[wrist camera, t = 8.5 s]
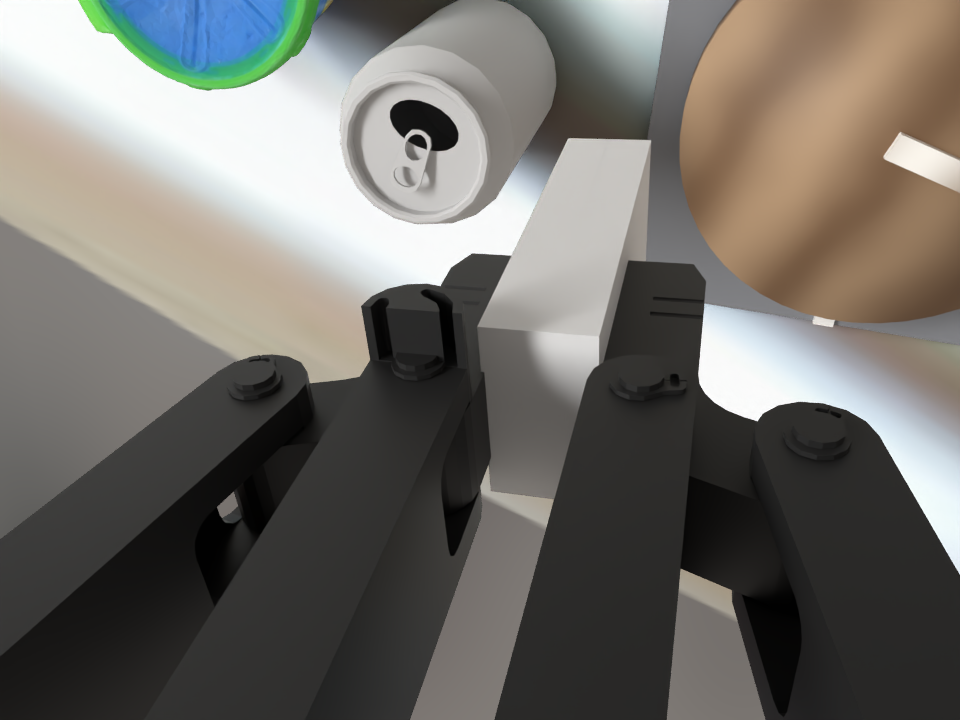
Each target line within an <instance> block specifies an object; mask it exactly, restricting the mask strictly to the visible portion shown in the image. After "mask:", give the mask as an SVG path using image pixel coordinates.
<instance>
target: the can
mask: <svg viewBox="0 0 960 720" xmlns="http://www.w3.org/2000/svg"><path fill="white" fill-rule="evenodd" d="M556 85H557V83H556V71H555V60H554V57H553V55H552V52H551V50H550V47H549V45H548V42H547V40H546V37H545V36H544V34H543V33H542V32H541V31H540V29H539V28H538V27H537V26H536V25H535V23H534V22H533V21H532V20H531V19H530V17H529V16H527V15H526V14H524V13H523V12H521V11H519V10H518V9H516V8H515V7H513V6H512V5H510V4H509V3H506V2H502V1H498V0H458V1H456V2H454V3H452V4H450V5H448V6H446V7H444V8H442V9H440V10H438V11H437V12H436V13H434V14H433V15H431V16H430V17H429V18H427V19H426V20H424V21H423V22H422V23H420V24H419V25H417V26H416V27H415V28H413V29H412V30H410V31H409V32H408V33H406V34H405V35H403V36H402V37H401V38H399V39H398V40H396V41H395V42H394V43H392V44H391V45H390V46H388V47H387V48H385V49H384V50H383V51H381V52H380V53H378V54H377V55H376V56H374V57H373V58H371V59H370V60H369V61H368V62H367V63H366V64H365V65H364V67H363V68H362V69H361V70H360V71H359V72H358V73H357V74H356V75H355V76H354V77H353V78H352V80H351V82H350V85H349V87H348V89H347V92H346V94H345V97H344V99H343V101H342V105H341V118H340V134H341V142H340V144H341V148H342V153H343V157H344V162H345V166H346V168H347V170H348V172H349V174H350V176H351V178H352V179H353V181H354V183H355V185H356V187H357V188H358V189H359V190H360V192H361V193H362V194H363V195H364V196H365V197H366V198H367V199H368V200H369V201H370V202H371V203H372V204H373V205H374V206H375V207H377V208H379V209H380V210H382V211H384V212H385V213H387V214H388V215H390V216H392V217H393V218H396V219H400V220H403V221H407V222H410V223H414V224H438V223H454V222H457V221H460V220H463V219H465V218H468V217H471V216H474V215H476V214H477V213H479V212H480V211H481V210H482V209H484V208H485V207H486V206H487V205H488V204H490V203H491V202H492V201H493V200H495V199H496V197H497V196H498V194H499V192H500V191H501V189H502V187H503V186H504V184H505V183H506V181H507V179H508V178H509V176H510V174H511V173H512V171H513V170H514V168H515V166H516V165H517V163H518V161H519V160H520V158H521V156H522V155H523V153H524V152H525V150H526V148H527V147H528V145H529V143H530V142H531V140H532V139H533V137H534V135H535V134H536V132H537V130H538V129H539V127H540V126H541V124H542V122H543V120H544V119H545V117H546V115H547V114H548V112H549V110H550V109H551V107H552V102H553V98H554V94H555V89H556Z"/></svg>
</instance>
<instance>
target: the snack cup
mask: <svg viewBox="0 0 960 720" xmlns="http://www.w3.org/2000/svg"><path fill="white" fill-rule="evenodd" d="M78 1H79V3H80V4H81V6H82V8H83V10H84V12H85V13H86V15H87V17H88V18H89V20H90V22H91V23H92V24H93V26H94V27H95V29H96V30H97V31H99V32H102V33H111V34H114V35H115V36H116V37H117V39H118V40H119V41H120V42H121V43H122V44H123V45H124V46H125V47H126V48H127V49H128V50H129V51H130V52H131V53H133V54H134V55H135V56H136V57H137V58H139V59H140V60H141V61H142V62H143V63H145V64H146V65H148V66H149V67H151V68H152V69H154V70H155V71H157V72H159V73H161V74H162V75H164V76H166V77H168V78H171V79H174V80H176V81H177V82H181V83H184V84H186V85H188V86H190V87H192V88H196V89H202V90H207V91H208V90H212V89H229V88H236V87H241V86H245V85H248V84H251V83H253V82H256V81H258V80H260V79H262V78H264V77H266V76H268V75H269V74H271V73H273V72H274V71H275V70H277V69H278V68H280V67H281V66H282V65H283V64H284V63H285V62H287V61H288V60H289V59H290V58H291V57H294V56H296V55H298V54H299V52H300V51H301V50H302V48H303V47H304V46H305V44H306V42H307V40H308V38H309V36H310V34H311V28H312V24H313V23H314V22H315V21H316V20H317V19H318V18H319V17H320V15H322V13H323V12H325V10H326V9H327V8H328V7H329V5H330V4H331V3H332V2H333V1H334V0H78Z"/></svg>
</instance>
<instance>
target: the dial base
mask: <svg viewBox="0 0 960 720" xmlns="http://www.w3.org/2000/svg"><path fill="white" fill-rule="evenodd" d="M735 1H736V0H669V6H668V12H667V18H666V25H665V31H664V37H663V43H662V50H661V56H660V62H659V68H658V74H657V81H656V87H655V93H654V99H653V106H652V112H651V118H650V124H649V131H648V137H647V140H651V155H650V177H649V199H648V221H647V243H646V261H650V262H667V263H684V264H694V265H695V267H696V268H697V269H698V271H699V272H700V273H701V275H702V276H703V278H704V279H705V280H706V290H705V301H704V303H705V304H712V305H718V306H724V307H730V308H736V309H742V310H748V311H754V312H760V313H766V314H773V315H779V316H785V317H791V318H797V319H803V320H809V321H813V324H816V325H822V326H829V327H833V325H840V326H846V327H852V328H858V329H864V330H870V331H876V332H882V333H889V334H895V335H901V336H907V337H913V338H919V339H925V340H931V341H937V342H943V343H950V344H956V345H960V309H958V310H954V311H951V312H947V313H943V314H940V315H936V316H933V317H927V318H922V319H916V320H910V321H904V322H890V323H852V322H844V321H837V320H830V319H825V318H821V317H817V316H813V315H809V314H805V313H802V312H799V311H796V310H794V309H791V308H789V307H786V306H783V305H781V304H779V303H777V302H775V301H773V300H771V299H769V298H767V297H765V296H764V295H762V294H760V293H758V292H757V291H755V290H754V289H753V288H751V287H750V286H748V285H747V284H745V283H744V282H743V281H741V280H740V279H739V278H738V277H737V276H736V275H735V274H733V273H732V272H731V271H730V270H729V269H728V268H727V267H726V266H725V265H724V264H723V263H722V262H721V261H720V259H719V258H718V257H717V256H716V255H715V253H714V252H713V251H712V250H711V249H710V247H709V246H708V244H707V242H706V241H705V239H704V237H703V236H702V234H701V233H700V231H699V229H698V227H697V225H696V223H695V221H694V218H693V216H692V214H691V211H690V209H689V207H688V203H687V199H686V196H685V192H684V188H683V184H682V177H681V169H680V132H681V125H682V119H683V112H684V107H685V102H686V97H687V94H688V90H689V87H690V83H691V80H692V76H693V73H694V71H695V68H696V66H697V64H698V61H699V59H700V57H701V54H702V52H703V50H704V48H705V46H706V44H707V42H708V41H709V39H710V37H711V36H712V34H713V32H714V30H715V29H716V27H717V25H718V24H719V22H720V21H721V20H722V18H723V17H724V16H725V14H726V13H727V12H728V10H729V9H730V8H731V7H732V5H733V4H734V3H735Z"/></svg>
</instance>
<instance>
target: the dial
mask: <svg viewBox="0 0 960 720" xmlns="http://www.w3.org/2000/svg"><path fill="white" fill-rule="evenodd" d="M680 169H681V177H682V184H683V188H684V192H685V196H686V199H687V203H688V207H689V209H690V211H691V214H692V216H693V218H694V221H695V223H696V225H697V227H698V229H699V231H700V233H701V234H702V236H703V237H704V239H705V241H706V242H707V244H708V246H709V247H710V249H711V250H712V251H713V252H714V253H715V255H716V256H717V257H718V258H719V259H720V261H721V262H722V263H723V264H724V265H725V266H726V267H727V268H728V269H729V270H730V271H731V272H732V273H733V274H735V275H736V276H737V277H738V278H739V279H740V280H741V281H743V282H744V283H745V284H747V285H748V286H750V287H751V288H753V289H754V290H755V291H757V292H758V293H760V294H762V295H764V296H765V297H767V298H769V299H771V300H773V301H775V302H777V303H779V304H781V305H783V306H786V307H789V308H791V309H794V310H796V311H799V312H802V313H805V314H809V315H813V316H817V317H821V318H825V319H830V320H837V321H844V322H852V323H890V322H904V321H910V320H916V319H922V318H927V317H933V316H936V315H940V314H943V313H947V312H951V311H954V310H958V309H960V0H736V1H735V3H734V4H733V5H732V7H731V8H730V9H729V10H728V12H727V13H726V14H725V16H724V17H723V18H722V20H721V21H720V22H719V24H718V25H717V27H716V29H715V30H714V32H713V34H712V36H711V37H710V39H709V41H708V42H707V44H706V46H705V48H704V50H703V52H702V54H701V57H700V59H699V61H698V64H697V66H696V68H695V71H694V73H693V76H692V80H691V83H690V87H689V90H688V94H687V97H686V102H685V107H684V112H683V119H682V125H681V132H680Z"/></svg>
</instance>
